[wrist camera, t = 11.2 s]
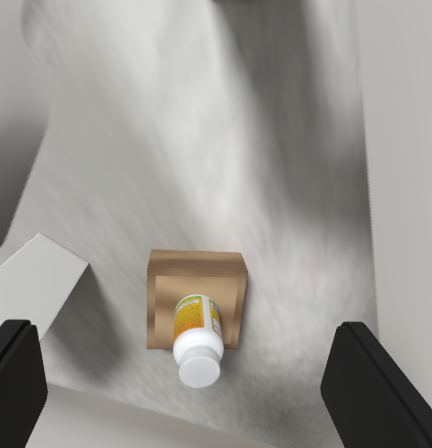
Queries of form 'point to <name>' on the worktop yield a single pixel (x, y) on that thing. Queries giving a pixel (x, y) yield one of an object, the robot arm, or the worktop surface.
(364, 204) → the worktop surface
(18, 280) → the milk carton
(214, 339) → the supplement bottle
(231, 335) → the pedestal
